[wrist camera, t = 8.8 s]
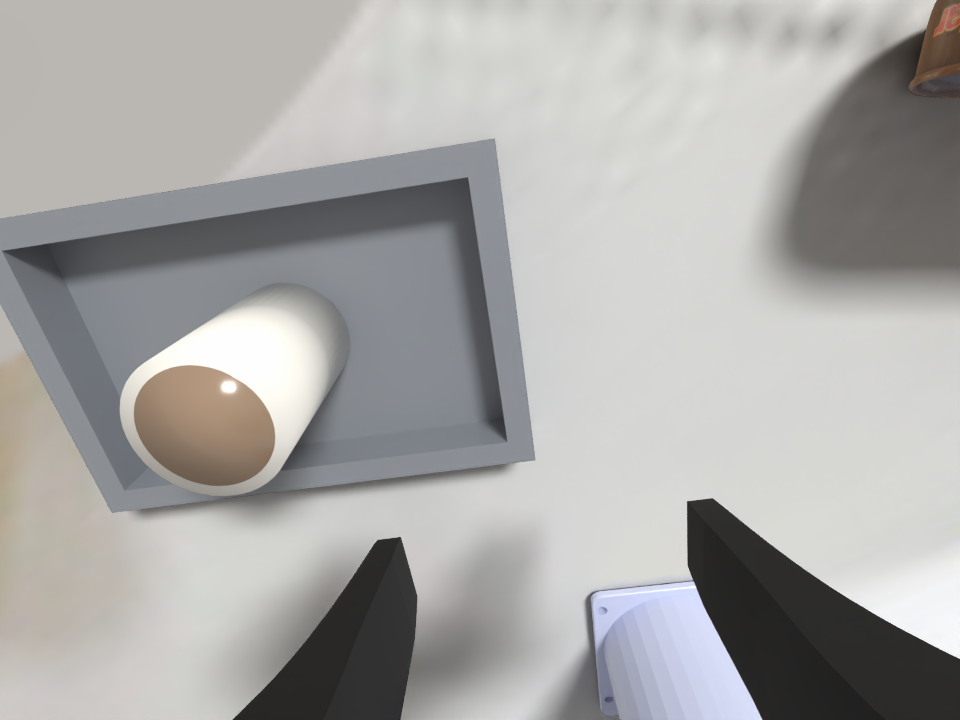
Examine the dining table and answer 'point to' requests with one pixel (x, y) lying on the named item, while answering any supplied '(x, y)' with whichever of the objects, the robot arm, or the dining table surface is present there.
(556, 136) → the dining table surface
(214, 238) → the tray
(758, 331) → the dining table surface
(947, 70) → the tin
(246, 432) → the cup
